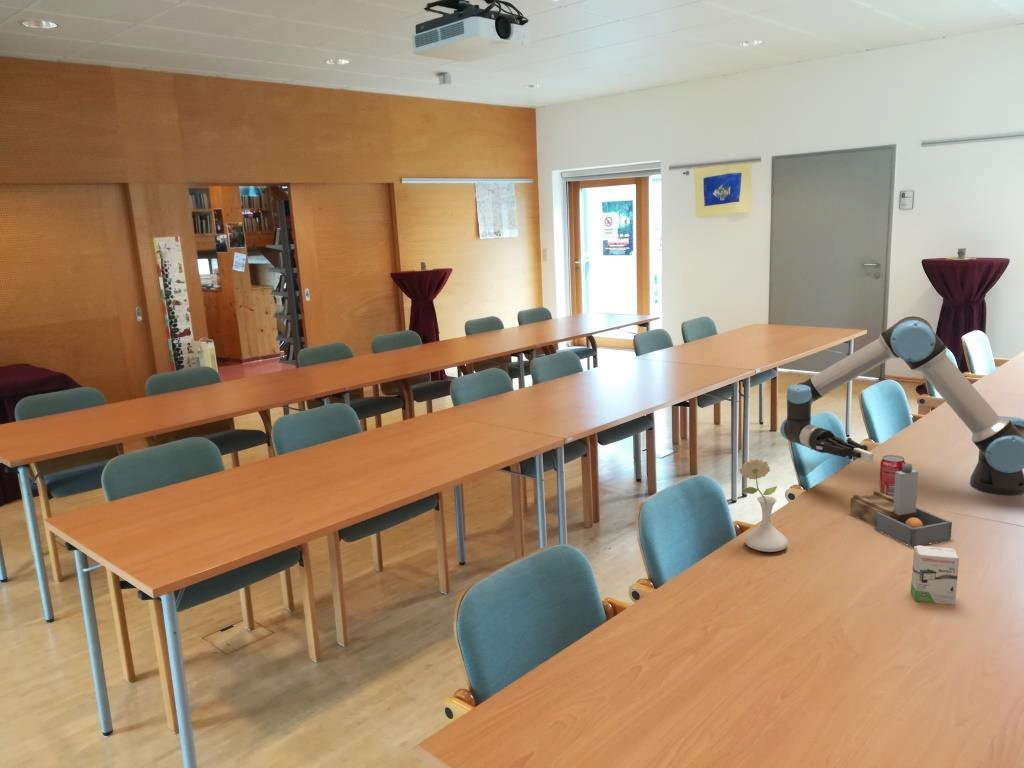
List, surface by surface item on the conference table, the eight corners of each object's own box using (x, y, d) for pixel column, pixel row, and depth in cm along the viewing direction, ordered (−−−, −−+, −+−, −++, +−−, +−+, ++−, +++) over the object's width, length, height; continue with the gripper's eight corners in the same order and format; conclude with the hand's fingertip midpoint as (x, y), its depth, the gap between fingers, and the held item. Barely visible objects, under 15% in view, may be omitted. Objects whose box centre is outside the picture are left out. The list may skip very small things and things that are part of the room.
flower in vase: (790, 541, 210) (792, 455, 205) (785, 558, 200) (788, 468, 195) (741, 535, 215) (742, 451, 210) (734, 551, 205) (736, 463, 200)
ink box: (914, 601, 175) (917, 553, 172) (910, 591, 179) (913, 544, 177) (956, 605, 172) (960, 557, 170) (951, 595, 177) (954, 548, 174)
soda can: (907, 501, 234) (909, 461, 231) (882, 501, 235) (884, 461, 233) (900, 493, 241) (902, 454, 238) (876, 493, 242) (878, 454, 239)
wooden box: (850, 514, 227) (850, 495, 225) (877, 509, 229) (878, 490, 228) (887, 532, 213) (888, 512, 211) (916, 527, 215) (917, 507, 214)
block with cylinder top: (892, 512, 213) (895, 464, 210) (909, 509, 214) (912, 462, 211) (899, 515, 211) (901, 467, 208) (916, 512, 212) (919, 464, 209)
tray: (874, 528, 215) (875, 512, 214) (911, 522, 219) (912, 505, 218) (912, 547, 202) (913, 529, 201) (950, 539, 206) (951, 522, 205)
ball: (927, 531, 209) (916, 521, 213) (925, 521, 206) (913, 511, 210) (914, 539, 209) (902, 529, 213) (911, 529, 206) (900, 519, 210)
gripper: (834, 447, 247) (889, 466, 225) (800, 453, 243) (852, 473, 221) (835, 425, 245) (889, 442, 223) (800, 430, 242) (852, 448, 220)
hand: (871, 458), depth 222 cm, fingers closed
